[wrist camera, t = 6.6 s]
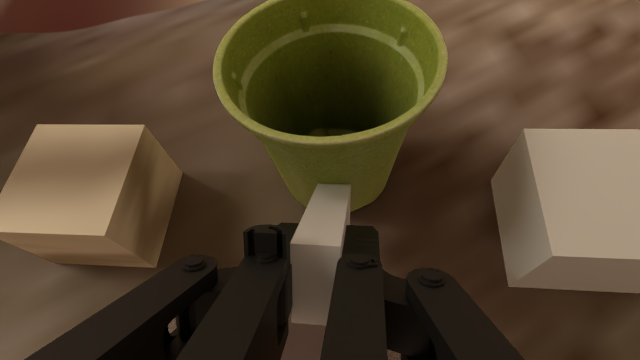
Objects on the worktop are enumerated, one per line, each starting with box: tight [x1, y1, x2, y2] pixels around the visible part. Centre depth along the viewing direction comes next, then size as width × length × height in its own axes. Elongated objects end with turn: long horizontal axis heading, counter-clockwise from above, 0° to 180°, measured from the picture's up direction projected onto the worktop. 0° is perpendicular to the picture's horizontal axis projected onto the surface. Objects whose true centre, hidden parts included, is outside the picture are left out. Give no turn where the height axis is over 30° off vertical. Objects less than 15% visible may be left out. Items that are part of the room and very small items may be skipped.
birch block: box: [0, 124, 183, 268], centre depth 20 cm, size 6×6×5 cm
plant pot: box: [213, 0, 448, 212], centre depth 19 cm, size 9×9×9 cm
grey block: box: [491, 129, 640, 293], centre depth 18 cm, size 6×6×5 cm
